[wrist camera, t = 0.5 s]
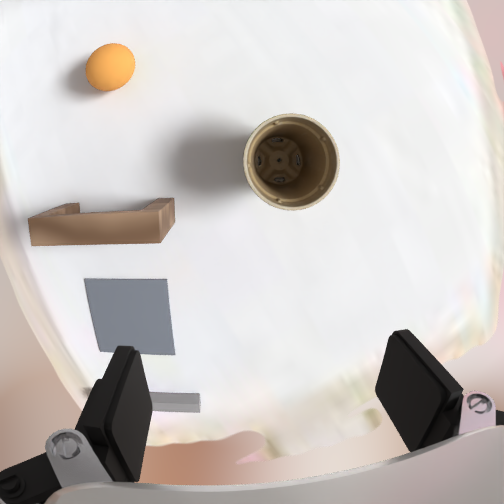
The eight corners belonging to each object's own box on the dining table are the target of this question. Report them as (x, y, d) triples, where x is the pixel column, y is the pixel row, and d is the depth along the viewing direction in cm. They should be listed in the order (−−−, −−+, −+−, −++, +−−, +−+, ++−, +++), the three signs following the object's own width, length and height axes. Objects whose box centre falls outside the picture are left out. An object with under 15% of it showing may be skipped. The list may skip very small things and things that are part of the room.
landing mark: (85, 278, 39) (84, 279, 39) (166, 279, 40) (166, 279, 40) (100, 350, 42) (100, 351, 42) (175, 354, 43) (175, 355, 43)
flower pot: (260, 212, 38) (271, 227, 30) (224, 143, 36) (225, 139, 27) (327, 178, 38) (354, 185, 30) (294, 110, 35) (314, 98, 27)
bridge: (66, 203, 36) (27, 218, 26) (174, 198, 37) (158, 211, 28) (68, 225, 36) (31, 246, 27) (174, 222, 38) (160, 243, 29)
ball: (98, 55, 30) (80, 42, 24) (142, 49, 31) (129, 32, 25) (95, 97, 32) (75, 89, 26) (139, 92, 33) (125, 81, 27)
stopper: (96, 387, 44) (91, 396, 42) (199, 393, 46) (198, 404, 44) (99, 395, 45) (95, 405, 43) (200, 402, 47) (199, 412, 44)
